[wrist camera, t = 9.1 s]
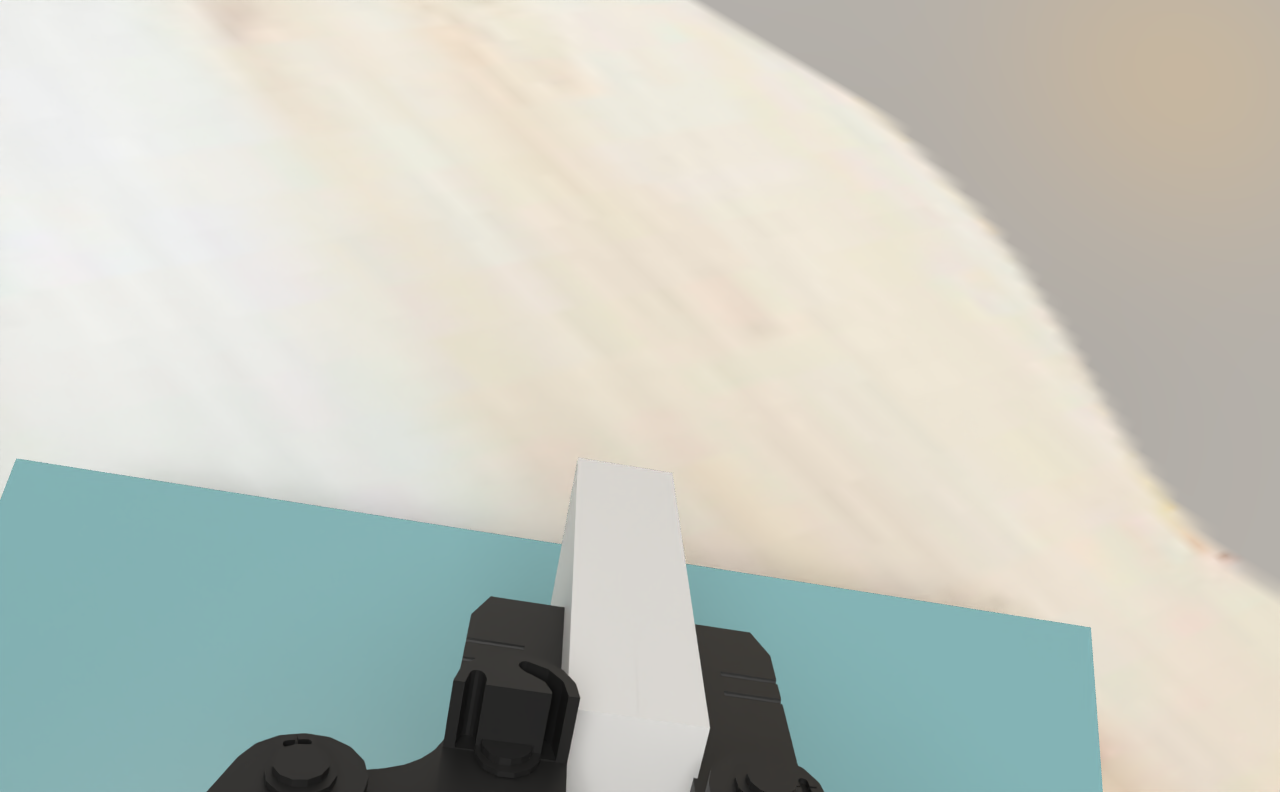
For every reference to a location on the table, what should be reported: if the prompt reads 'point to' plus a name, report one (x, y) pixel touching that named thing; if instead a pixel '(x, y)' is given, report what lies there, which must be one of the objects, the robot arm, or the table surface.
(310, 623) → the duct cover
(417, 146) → the table surface
